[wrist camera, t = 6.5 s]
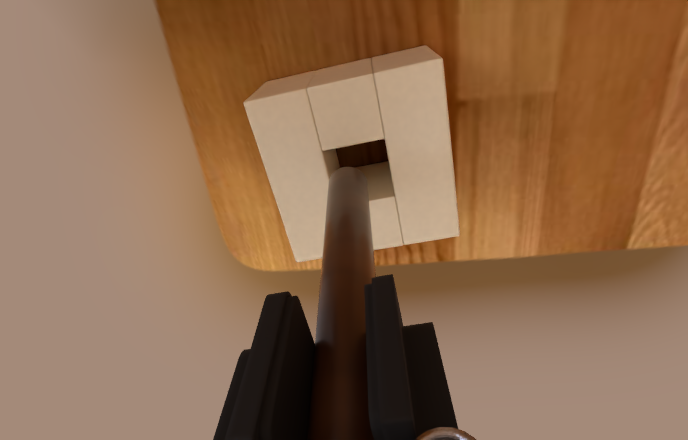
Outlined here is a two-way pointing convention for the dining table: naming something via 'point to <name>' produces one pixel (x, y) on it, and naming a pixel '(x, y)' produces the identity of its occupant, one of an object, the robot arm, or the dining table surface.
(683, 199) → the dining table surface
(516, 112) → the dining table surface
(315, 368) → the stick
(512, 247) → the dining table surface
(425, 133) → the holder
